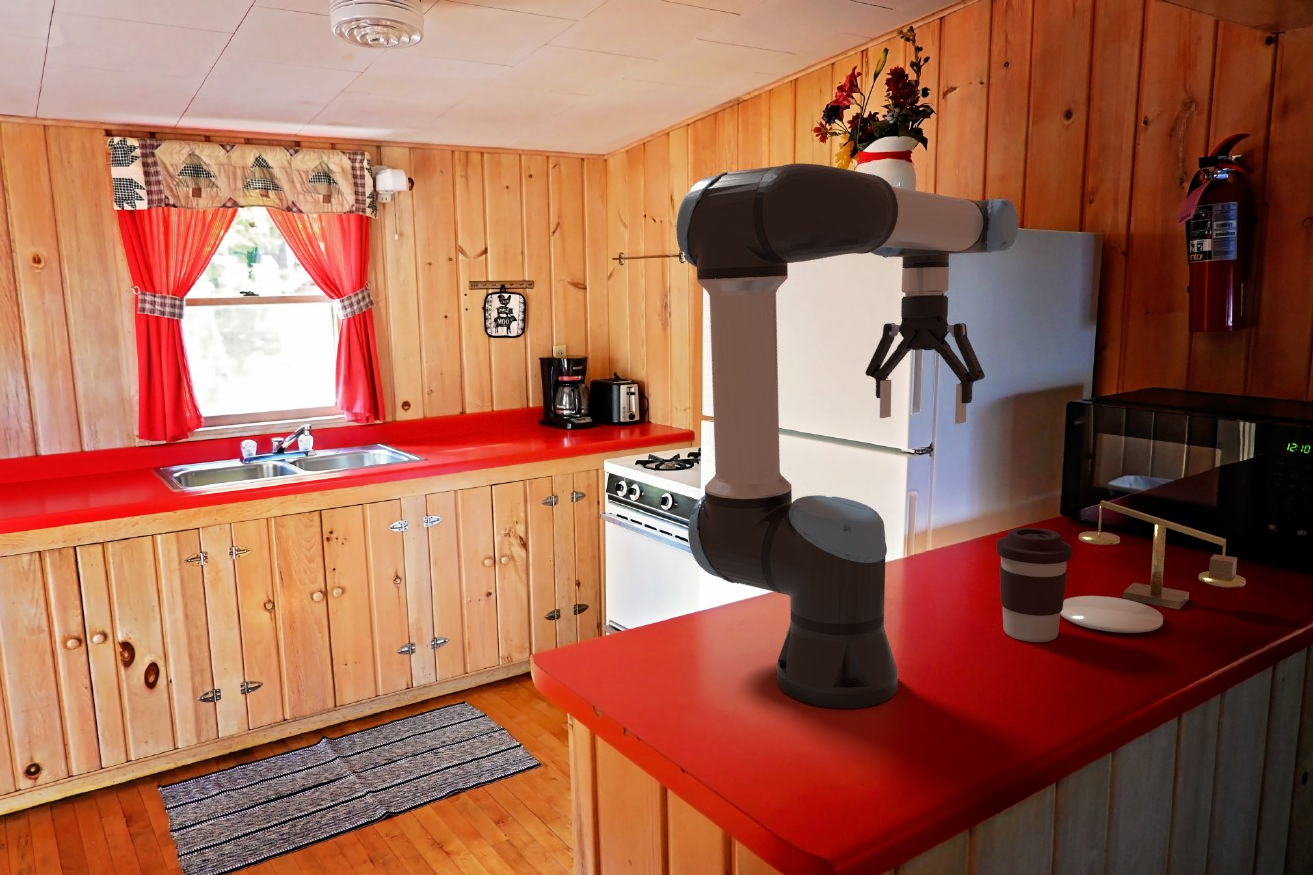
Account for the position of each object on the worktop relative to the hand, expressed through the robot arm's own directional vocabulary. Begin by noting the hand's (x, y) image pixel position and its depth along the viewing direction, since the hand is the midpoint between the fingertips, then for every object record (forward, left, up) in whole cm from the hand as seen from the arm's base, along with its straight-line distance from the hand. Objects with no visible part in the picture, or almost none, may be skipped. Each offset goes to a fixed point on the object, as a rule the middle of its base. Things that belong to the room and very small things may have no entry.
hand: (921, 420), depth 155 cm
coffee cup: (-16, -25, -28) cm, 41 cm away
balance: (+11, -35, -28) cm, 46 cm away
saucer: (-3, -32, -28) cm, 42 cm away
